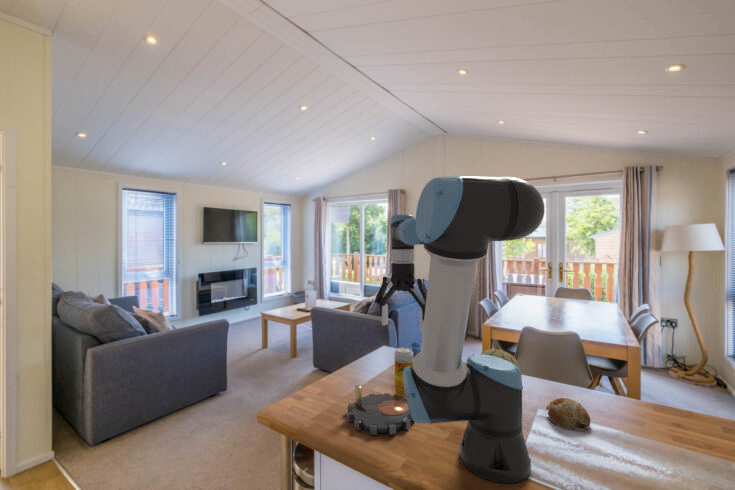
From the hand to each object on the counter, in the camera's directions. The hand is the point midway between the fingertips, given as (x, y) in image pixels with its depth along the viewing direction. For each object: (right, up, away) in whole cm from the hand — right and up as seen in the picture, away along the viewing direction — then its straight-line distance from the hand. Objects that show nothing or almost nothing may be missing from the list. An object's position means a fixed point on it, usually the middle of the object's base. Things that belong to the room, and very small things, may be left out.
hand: (403, 327), depth 110 cm
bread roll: (+44, -23, -16) cm, 52 cm away
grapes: (+8, -22, +20) cm, 31 cm away
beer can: (0, -23, 0) cm, 23 cm away
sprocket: (-8, -23, -13) cm, 27 cm away
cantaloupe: (+31, -22, +1) cm, 38 cm away
